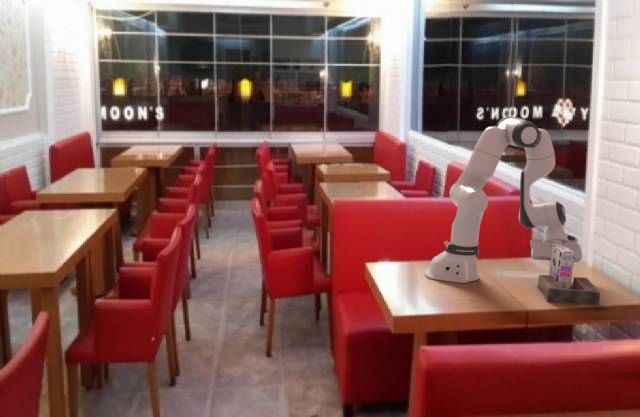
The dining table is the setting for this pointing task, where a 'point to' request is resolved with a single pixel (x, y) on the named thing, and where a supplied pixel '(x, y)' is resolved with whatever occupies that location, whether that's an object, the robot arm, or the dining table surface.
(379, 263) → the dining table surface
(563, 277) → the candy box
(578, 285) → the cradle
